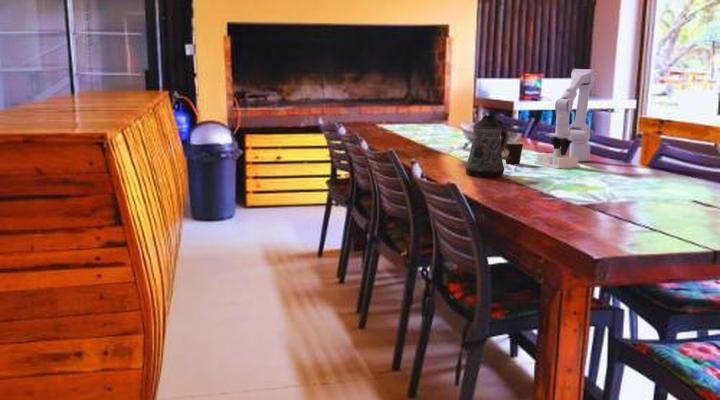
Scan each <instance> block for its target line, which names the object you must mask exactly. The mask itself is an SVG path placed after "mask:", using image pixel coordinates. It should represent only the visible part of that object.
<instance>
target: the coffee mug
mask: <svg viewBox="0 0 720 400" xmlns="http://www.w3.org/2000/svg"><path fill="white" fill-rule="evenodd" d="M523 146H524V143H523V142H521V141H507V144H506V146H505V150H503V151H504V153H505V157H504V158H505V164H506V165H509V164H511V165H512V164H513V165H514V164H519V165H520V163H521V158H522V157H521V156H522V151H523ZM511 165H510V166H511ZM513 165H512V166H513ZM514 166H515V165H514Z"/></svg>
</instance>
